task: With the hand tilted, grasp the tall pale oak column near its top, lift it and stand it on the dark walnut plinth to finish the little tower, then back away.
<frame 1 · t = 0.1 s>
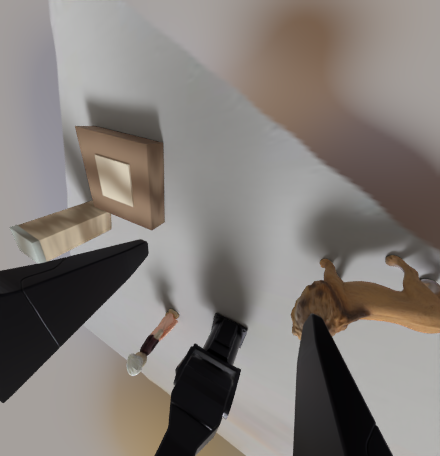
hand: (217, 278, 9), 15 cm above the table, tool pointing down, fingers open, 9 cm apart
grandmother figurine: (173, 313, 42), on the table
oak column: (102, 215, 36), on the table
plinth: (132, 176, 29), on the table
lion figurine: (357, 273, 21), on the table
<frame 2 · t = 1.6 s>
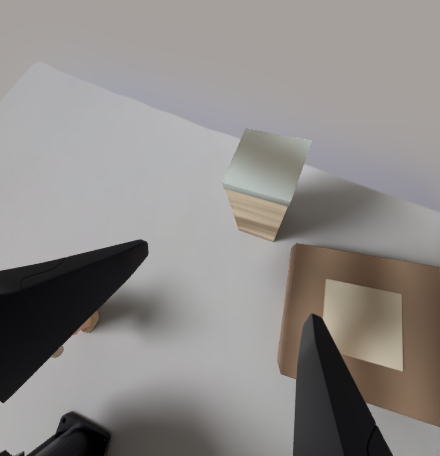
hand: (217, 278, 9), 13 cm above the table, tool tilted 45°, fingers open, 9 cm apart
oak column: (261, 219, 24), on the table
plinth: (344, 315, 19), on the table
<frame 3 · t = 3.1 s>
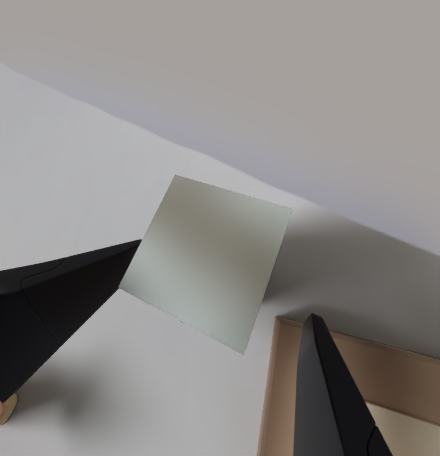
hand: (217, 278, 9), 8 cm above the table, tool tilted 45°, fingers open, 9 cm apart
grandmother figurine: (5, 400, 18), on the table
oak column: (236, 271, 18), on the table
plinth: (350, 428, 13), on the table
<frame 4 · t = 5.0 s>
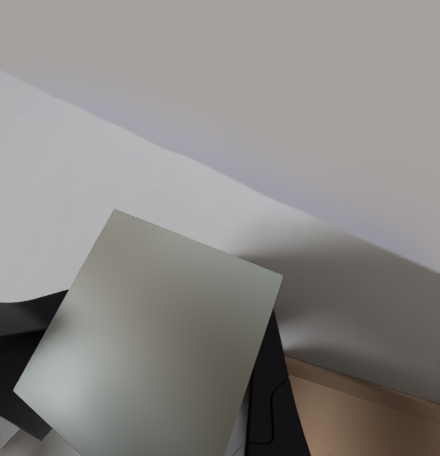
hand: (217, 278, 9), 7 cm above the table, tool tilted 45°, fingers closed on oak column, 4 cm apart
oak column: (226, 296, 15), on the table, touching gripper
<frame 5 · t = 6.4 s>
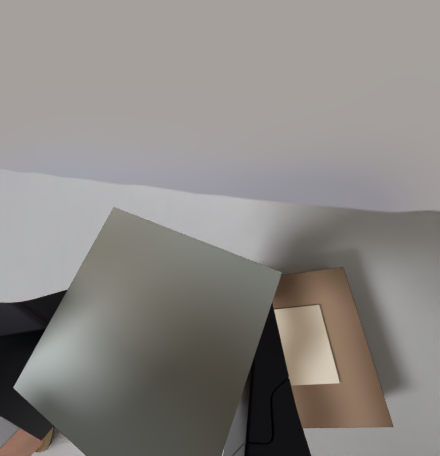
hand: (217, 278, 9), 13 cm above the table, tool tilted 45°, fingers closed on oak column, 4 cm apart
grandmother figurine: (43, 431, 22), on the table
oak column: (226, 295, 15), point 7 cm above the table, touching gripper
plinth: (287, 334, 19), on the table
when the fingers open (10 cm above the table, at t = 8.2 s): oak column stays where it is, resting on plinth.
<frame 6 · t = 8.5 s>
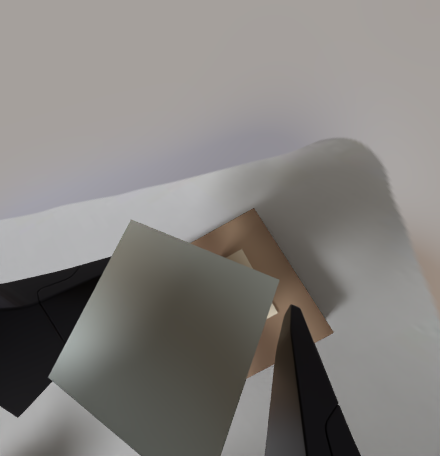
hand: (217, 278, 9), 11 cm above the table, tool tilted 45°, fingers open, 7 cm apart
oak column: (228, 295, 16), point 3 cm above the table, touching plinth
plinth: (232, 293, 19), on the table
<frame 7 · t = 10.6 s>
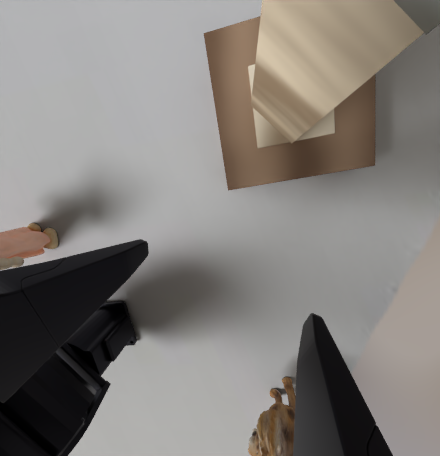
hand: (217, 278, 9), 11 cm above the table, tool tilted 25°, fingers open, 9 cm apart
grandmother figurine: (48, 236, 24), on the table
oak column: (292, 99, 14), point 3 cm above the table, touching plinth
plinth: (283, 115, 17), on the table
lion figurine: (290, 399, 25), on the table
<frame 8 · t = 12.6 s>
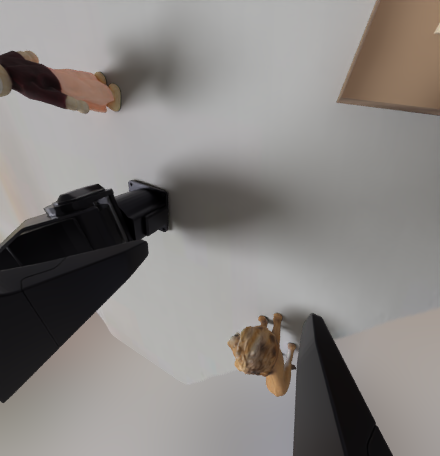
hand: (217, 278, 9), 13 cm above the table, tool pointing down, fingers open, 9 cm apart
grandmother figurine: (111, 95, 22), on the table
lion figurine: (273, 328, 29), on the table
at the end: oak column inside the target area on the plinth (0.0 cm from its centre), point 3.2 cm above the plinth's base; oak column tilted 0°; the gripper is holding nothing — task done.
